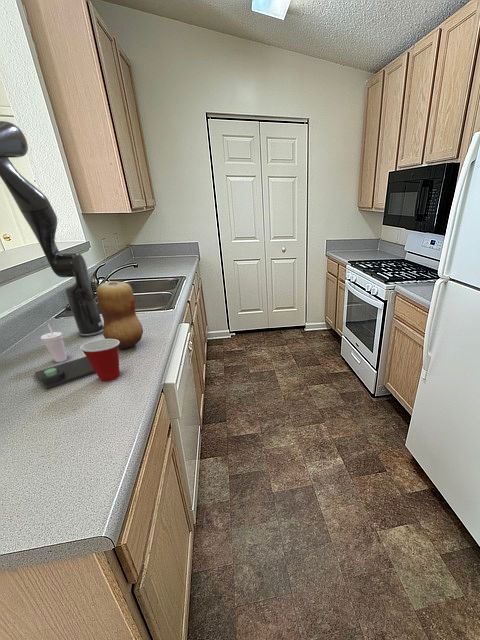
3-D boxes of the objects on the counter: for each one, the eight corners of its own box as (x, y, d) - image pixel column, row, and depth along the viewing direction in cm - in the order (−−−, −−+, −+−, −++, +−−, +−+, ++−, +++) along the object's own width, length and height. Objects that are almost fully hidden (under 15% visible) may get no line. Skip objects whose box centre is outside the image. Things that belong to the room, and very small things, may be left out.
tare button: (44, 375, 104) (43, 370, 104) (56, 371, 106) (54, 367, 106) (47, 378, 102) (45, 373, 102) (59, 374, 104) (57, 370, 104)
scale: (35, 375, 110) (32, 367, 108) (88, 358, 120) (86, 351, 119) (47, 390, 101) (43, 381, 100) (103, 370, 112) (100, 363, 110)
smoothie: (61, 364, 116) (46, 327, 110) (45, 363, 118) (30, 326, 111) (75, 356, 122) (62, 320, 116) (60, 355, 123) (47, 319, 117)
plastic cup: (136, 371, 111) (126, 338, 105) (110, 387, 102) (98, 352, 96) (111, 367, 114) (100, 334, 109) (83, 382, 105) (70, 348, 99)
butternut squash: (142, 351, 124) (125, 285, 113) (104, 356, 122) (82, 289, 111) (149, 337, 136) (134, 277, 125) (114, 341, 134) (95, 279, 123)
